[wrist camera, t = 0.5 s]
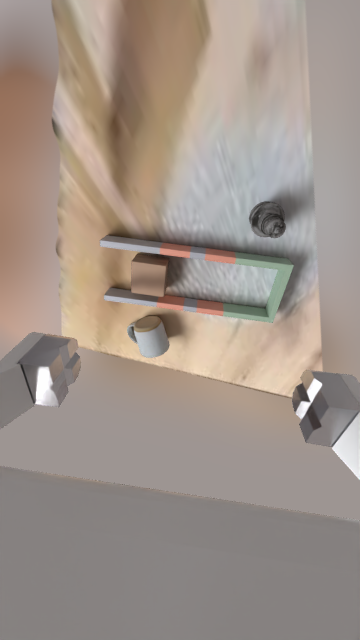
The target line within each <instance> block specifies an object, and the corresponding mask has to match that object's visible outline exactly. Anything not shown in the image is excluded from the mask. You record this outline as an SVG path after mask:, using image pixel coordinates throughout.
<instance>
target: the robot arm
mask: <svg viewBox="0 0 360 640" xmlns="http://www.w3.org/2000/svg"><path fill="white" fill-rule="evenodd" d="M78 348H79V347H78V342H77V340H76V339H75V338H70V337H64V336H57V335H50V334H43V333H36V332H33V333H30V334H29V335H27V336H26V337H25V338H24V339H23V340H22V341H21V342H20V343H19V344H18V345H17V346H16V347H15V348H13V349H12V350H11V351H10V352H9V353H8V354H7V355H6V356H5V357H4V358H3V359H2V360H1V361H0V429H1V428H3V427H4V426H6V425H7V424H8V423H10V422H11V421H13V420H14V419H16V418H17V417H19V416H20V415H21V414H23V413H24V412H26V411H27V410H29V409H30V408H32V407H33V406H34V404H36V405H44V406H54V407H59V406H60V405H61V403H62V401H63V400H64V398H65V397H66V395H67V393H68V387H67V386H69V385H70V384H72V383H74V382H75V380H76V379H77V377H78V374H79V371H80V368H81V360H80V356H79V355H78V354H77V353H76V350H77V349H78ZM301 380H302V383H301V384H299V385H298V386H296V388H295V390H294V392H293V397H292V403H293V408H294V411H295V413H296V414H297V415H298V416H299V417H300V418H301V419H302V420H301V422H300V424H299V425H300V428H301V430H302V433H303V436H304V439H305V442H306V443H311V444H316V445H322V446H328V447H332V449H333V450H334V452H336V454H337V455H338V456H339V457H340V458H341V459H342V461H343V462H344V463H345V464H346V465H347V466H348V467H349V468H350V470H351V471H352V472H353V473H354V474H355V475H356V476H357V477H358V479H359V480H360V383H359V382H358V380H357V379H356V378H355V377H354V376H352V375H347V374H338V373H336V374H335V373H327V372H320V371H313V370H306V371H304V372H303V374H302V376H301ZM0 640H360V520H353V519H347V518H340V517H334V516H327V515H320V514H314V513H307V512H301V511H294V510H288V509H281V508H274V507H268V506H261V505H254V504H248V503H242V502H235V501H228V500H222V499H215V498H209V497H202V496H196V495H189V494H183V493H176V492H169V491H162V490H156V489H150V488H142V487H135V486H129V485H123V484H116V483H110V482H103V481H97V480H90V479H83V478H77V477H70V476H63V475H57V474H50V473H43V472H37V471H30V470H24V469H17V468H11V467H4V466H0Z"/></svg>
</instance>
